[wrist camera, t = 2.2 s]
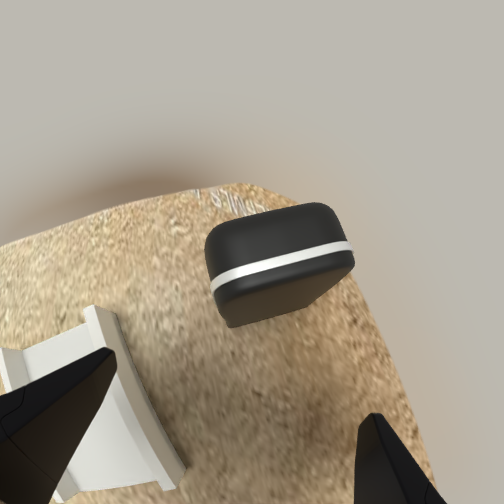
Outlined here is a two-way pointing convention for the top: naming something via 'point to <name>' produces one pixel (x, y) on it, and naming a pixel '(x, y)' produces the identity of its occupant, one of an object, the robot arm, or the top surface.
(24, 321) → the top surface
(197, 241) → the top surface
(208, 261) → the battery charger
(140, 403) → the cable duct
